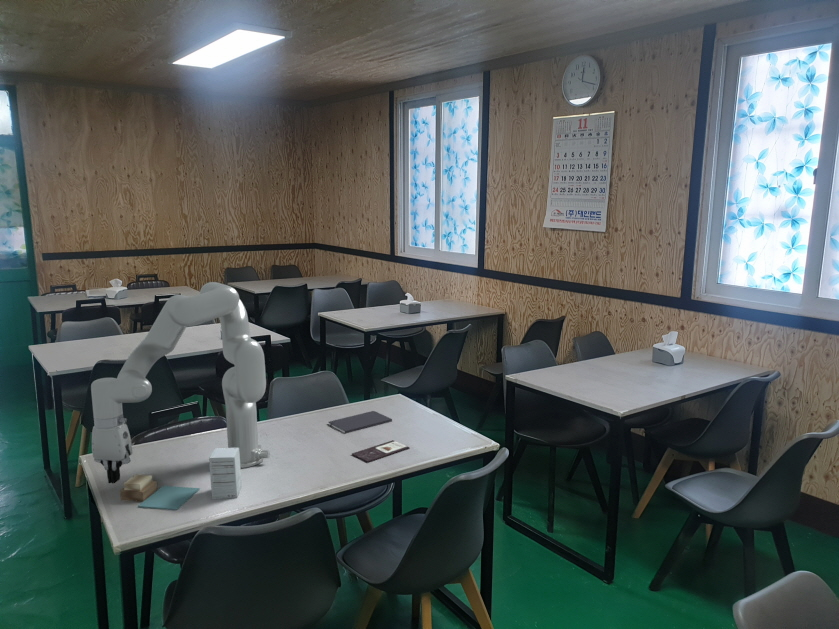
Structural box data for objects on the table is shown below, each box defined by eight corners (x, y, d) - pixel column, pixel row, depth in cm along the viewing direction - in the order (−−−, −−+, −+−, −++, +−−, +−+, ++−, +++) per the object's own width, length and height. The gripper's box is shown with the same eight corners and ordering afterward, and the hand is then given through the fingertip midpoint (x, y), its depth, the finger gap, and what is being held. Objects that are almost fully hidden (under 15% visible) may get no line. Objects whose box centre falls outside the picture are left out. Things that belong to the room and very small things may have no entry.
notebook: (344, 435, 233) (392, 422, 246) (344, 431, 233) (392, 418, 246) (327, 425, 243) (373, 414, 256) (327, 421, 243) (373, 410, 255)
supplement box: (216, 488, 189) (214, 447, 187) (242, 487, 190) (240, 446, 187) (211, 499, 182) (208, 457, 180) (237, 498, 182) (235, 456, 180)
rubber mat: (199, 489, 188) (199, 488, 188) (176, 510, 175) (176, 508, 175) (163, 486, 190) (163, 485, 190) (137, 507, 177) (137, 505, 177)
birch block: (152, 481, 186) (151, 475, 186) (140, 491, 180) (139, 484, 180) (136, 480, 187) (136, 474, 187) (124, 489, 181) (123, 483, 181)
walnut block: (157, 490, 187) (156, 481, 187) (143, 501, 180) (142, 492, 180) (135, 489, 188) (134, 479, 188) (121, 500, 181) (120, 490, 181)
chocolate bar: (351, 453, 213) (392, 440, 225) (351, 456, 213) (392, 442, 225) (367, 461, 207) (409, 447, 218) (367, 464, 207) (409, 449, 219)
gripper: (140, 418, 184) (145, 477, 187) (93, 415, 186) (99, 474, 189) (125, 427, 177) (130, 488, 180) (76, 424, 179) (82, 485, 182)
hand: (114, 481), depth 185 cm, fingers closed
